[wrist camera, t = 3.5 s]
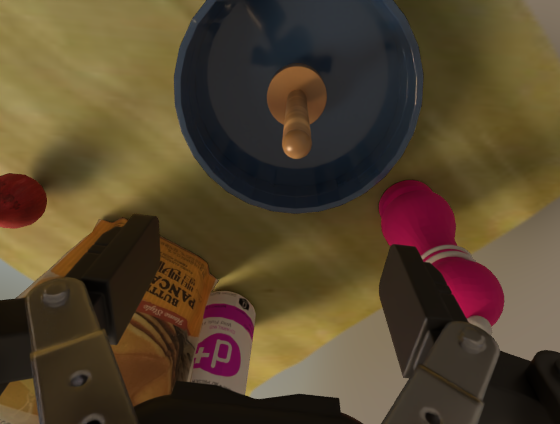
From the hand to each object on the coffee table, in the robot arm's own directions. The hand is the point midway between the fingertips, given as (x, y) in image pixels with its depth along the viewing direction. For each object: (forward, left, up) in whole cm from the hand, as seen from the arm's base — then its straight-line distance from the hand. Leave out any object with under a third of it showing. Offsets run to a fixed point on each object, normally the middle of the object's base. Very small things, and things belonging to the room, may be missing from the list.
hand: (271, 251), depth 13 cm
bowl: (0, +1, -28) cm, 28 cm away
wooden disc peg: (0, +1, -27) cm, 27 cm away
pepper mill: (+11, +15, -28) cm, 34 cm away
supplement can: (+30, -5, -28) cm, 41 cm away
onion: (+14, -28, -28) cm, 42 cm away
